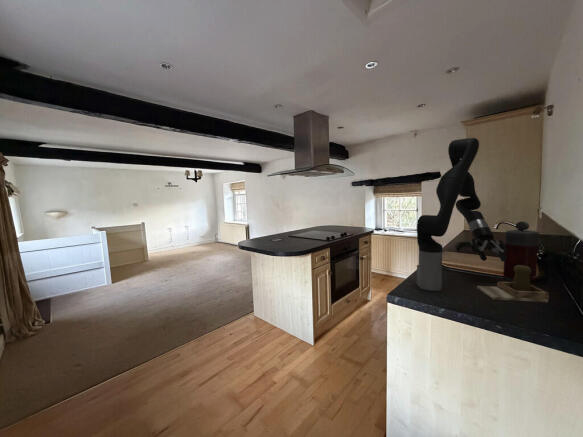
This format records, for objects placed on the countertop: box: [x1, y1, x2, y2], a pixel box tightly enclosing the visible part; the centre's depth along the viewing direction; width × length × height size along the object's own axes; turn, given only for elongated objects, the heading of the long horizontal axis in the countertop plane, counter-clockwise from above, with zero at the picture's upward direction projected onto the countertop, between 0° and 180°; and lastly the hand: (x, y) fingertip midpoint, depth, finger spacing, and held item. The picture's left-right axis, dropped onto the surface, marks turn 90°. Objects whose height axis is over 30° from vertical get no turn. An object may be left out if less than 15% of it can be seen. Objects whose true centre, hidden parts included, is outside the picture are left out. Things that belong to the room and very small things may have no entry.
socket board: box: [476, 281, 550, 303], centre depth 98 cm, size 18×12×4 cm, turn 78°
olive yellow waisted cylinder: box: [512, 265, 531, 291], centre depth 98 cm, size 6×6×11 cm
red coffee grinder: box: [503, 220, 540, 282], centre depth 116 cm, size 9×11×28 cm
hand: (494, 260), depth 107 cm, fingers open, 8 cm apart
